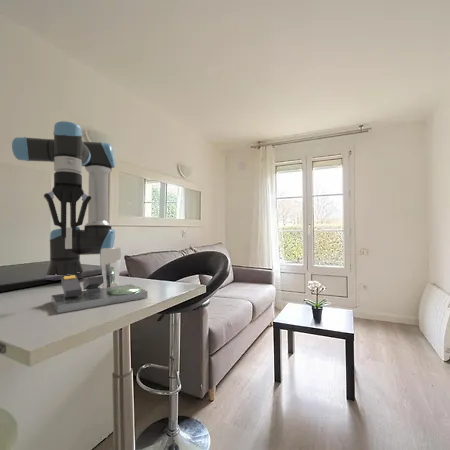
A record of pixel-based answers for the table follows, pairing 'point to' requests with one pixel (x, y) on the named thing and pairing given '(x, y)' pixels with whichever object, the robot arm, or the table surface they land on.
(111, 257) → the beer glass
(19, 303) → the table surface
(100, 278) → the rocker plain
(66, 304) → the switch panel
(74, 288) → the rocker tagged
